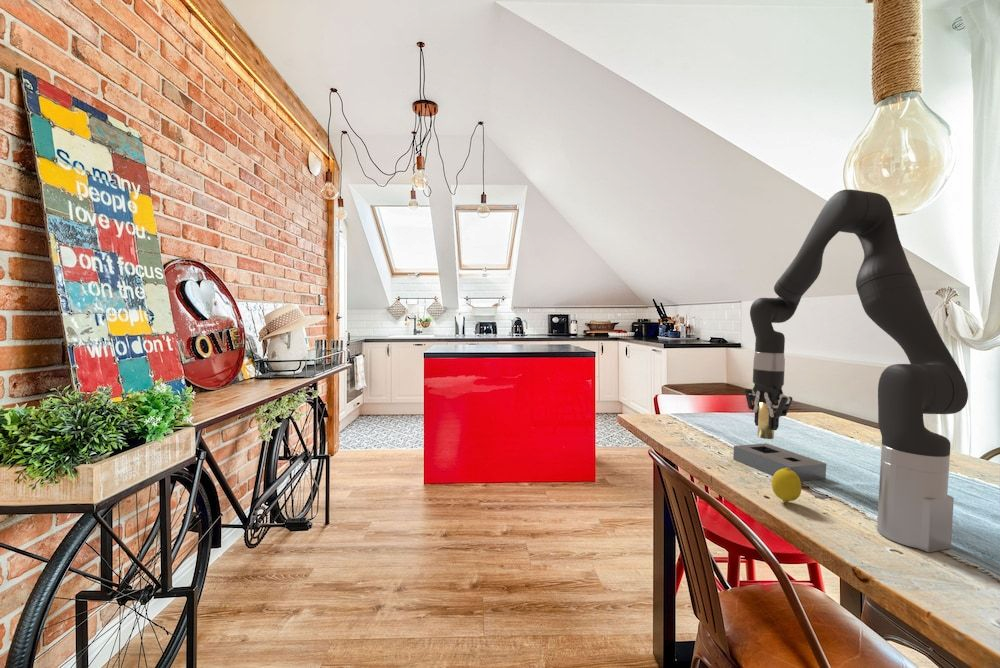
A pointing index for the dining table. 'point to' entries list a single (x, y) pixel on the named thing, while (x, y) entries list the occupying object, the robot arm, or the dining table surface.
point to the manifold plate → (779, 461)
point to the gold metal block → (764, 422)
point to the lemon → (786, 485)
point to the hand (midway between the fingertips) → (765, 427)
